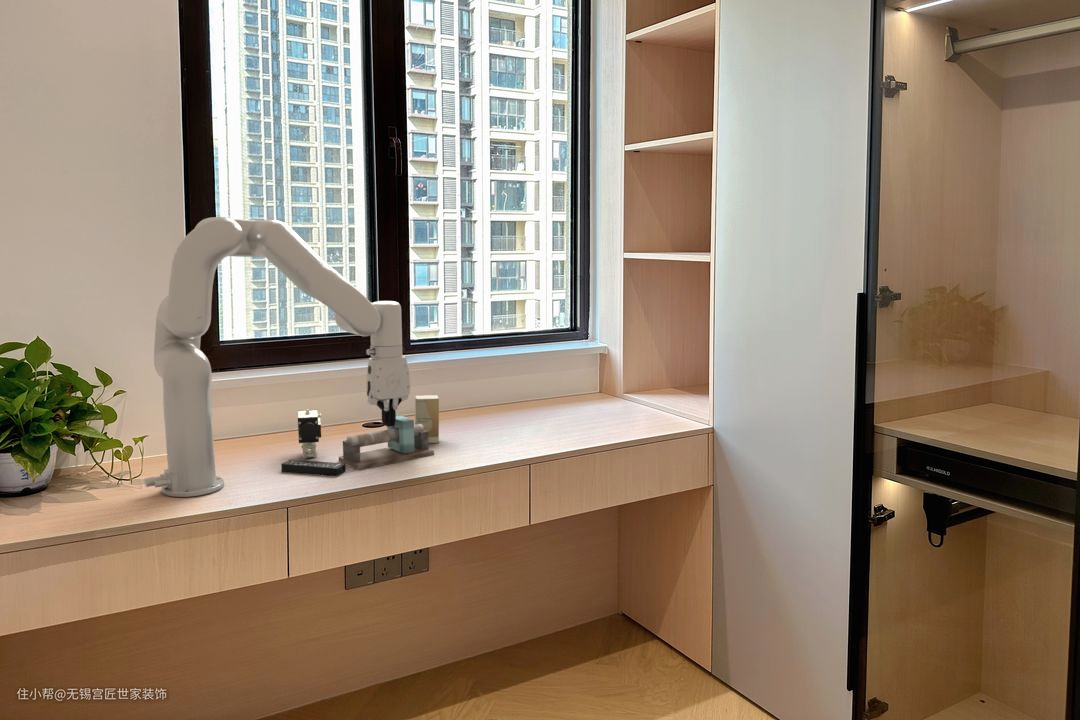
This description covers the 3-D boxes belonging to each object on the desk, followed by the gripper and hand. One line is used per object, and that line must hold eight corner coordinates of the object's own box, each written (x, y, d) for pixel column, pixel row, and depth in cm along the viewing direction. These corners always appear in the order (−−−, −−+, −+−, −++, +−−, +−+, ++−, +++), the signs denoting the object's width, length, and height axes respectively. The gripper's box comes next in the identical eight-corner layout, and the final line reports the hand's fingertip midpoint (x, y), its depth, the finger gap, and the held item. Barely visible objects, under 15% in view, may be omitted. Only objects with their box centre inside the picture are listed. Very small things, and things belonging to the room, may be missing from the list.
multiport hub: (290, 468, 200) (290, 458, 200) (346, 472, 197) (346, 463, 197) (280, 473, 196) (280, 464, 196) (337, 478, 193) (337, 468, 192)
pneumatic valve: (299, 463, 203) (297, 415, 201) (300, 451, 214) (297, 405, 212) (323, 461, 204) (321, 413, 202) (322, 449, 215) (320, 403, 214)
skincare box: (415, 444, 221) (414, 398, 219) (414, 440, 225) (413, 395, 223) (440, 443, 222) (439, 397, 220) (438, 438, 226) (437, 394, 224)
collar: (403, 453, 206) (403, 421, 205) (387, 446, 212) (386, 415, 211) (414, 451, 208) (413, 419, 207) (398, 444, 214) (397, 414, 213)
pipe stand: (357, 469, 198) (356, 440, 197) (338, 460, 205) (337, 432, 204) (433, 454, 211) (433, 427, 210) (413, 446, 218) (412, 419, 217)
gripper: (366, 357, 197) (369, 433, 200) (421, 350, 206) (423, 423, 209) (351, 353, 202) (354, 427, 205) (405, 347, 212) (407, 418, 215)
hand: (388, 425), depth 207 cm, fingers closed
